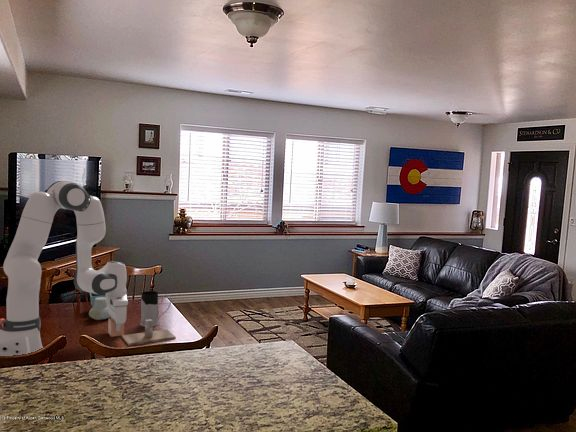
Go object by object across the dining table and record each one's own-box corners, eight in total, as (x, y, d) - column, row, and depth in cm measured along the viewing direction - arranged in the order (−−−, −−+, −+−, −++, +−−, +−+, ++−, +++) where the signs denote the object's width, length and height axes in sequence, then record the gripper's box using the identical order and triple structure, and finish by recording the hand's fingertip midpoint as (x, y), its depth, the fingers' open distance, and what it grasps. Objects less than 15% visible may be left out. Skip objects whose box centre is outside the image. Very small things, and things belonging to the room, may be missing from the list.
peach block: (111, 336, 221) (111, 321, 220) (108, 333, 225) (108, 318, 225) (124, 334, 223) (124, 320, 223) (121, 331, 228) (121, 317, 228)
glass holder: (139, 322, 243) (139, 291, 242) (169, 320, 248) (170, 289, 247) (140, 327, 235) (140, 295, 234) (171, 325, 240) (172, 293, 239)
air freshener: (115, 317, 250) (115, 297, 250) (105, 321, 242) (105, 301, 242) (96, 315, 253) (96, 295, 252) (85, 319, 245) (85, 299, 244)
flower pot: (89, 309, 263) (89, 292, 262) (107, 308, 267) (107, 291, 266) (90, 314, 255) (90, 296, 254) (109, 312, 259) (109, 295, 258)
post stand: (128, 345, 210) (128, 326, 209) (121, 337, 220) (121, 319, 219) (175, 338, 220) (175, 320, 219) (166, 331, 230) (167, 314, 230)
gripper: (103, 293, 230) (103, 323, 231) (113, 303, 213) (113, 335, 214) (118, 292, 234) (118, 321, 235) (129, 302, 216) (129, 333, 217)
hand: (116, 328), depth 224 cm, fingers closed on peach block, 6 cm apart
